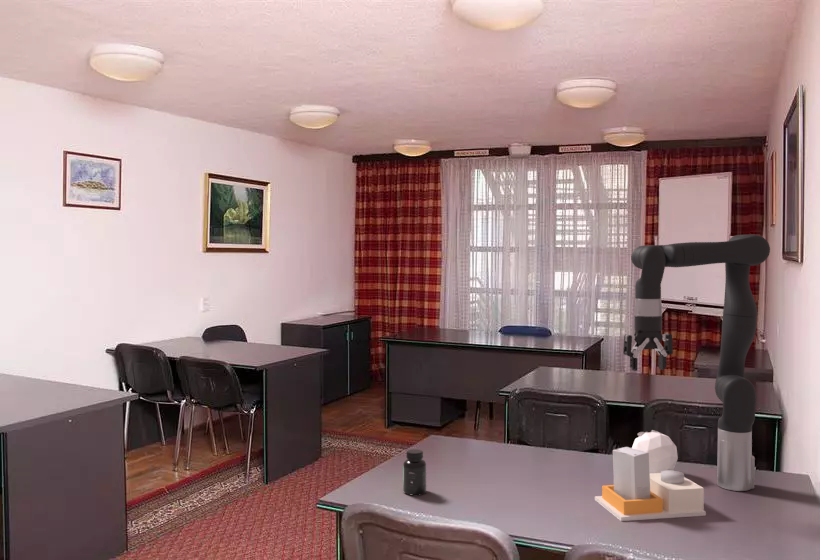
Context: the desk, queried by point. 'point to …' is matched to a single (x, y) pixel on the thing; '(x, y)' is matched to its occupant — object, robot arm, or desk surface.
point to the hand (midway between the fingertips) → (648, 369)
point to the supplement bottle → (414, 473)
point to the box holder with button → (657, 499)
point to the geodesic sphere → (657, 450)
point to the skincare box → (631, 473)
